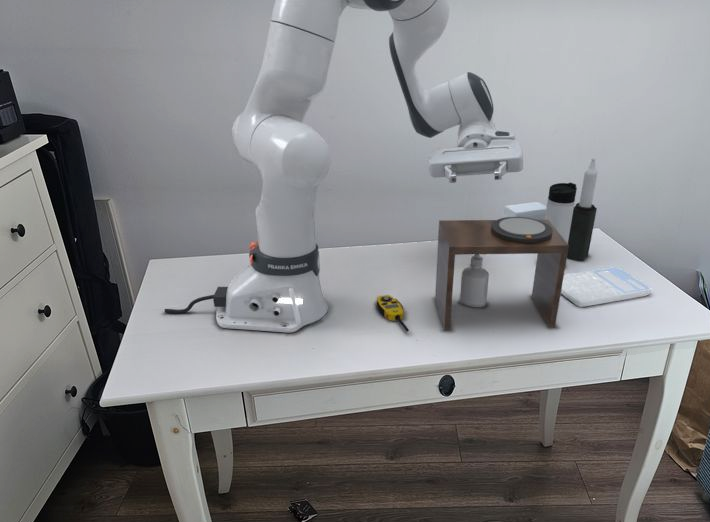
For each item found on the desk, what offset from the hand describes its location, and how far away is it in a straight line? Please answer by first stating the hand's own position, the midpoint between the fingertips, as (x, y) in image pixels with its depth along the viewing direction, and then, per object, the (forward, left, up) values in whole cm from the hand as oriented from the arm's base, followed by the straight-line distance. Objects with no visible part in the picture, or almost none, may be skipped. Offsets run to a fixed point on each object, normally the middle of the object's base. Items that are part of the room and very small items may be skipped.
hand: (475, 178), depth 128 cm
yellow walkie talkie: (-18, -14, -25) cm, 34 cm away
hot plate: (+7, -13, -7) cm, 16 cm away
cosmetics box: (+19, +24, -25) cm, 40 cm away
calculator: (+30, -3, -25) cm, 40 cm away
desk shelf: (+3, -13, -25) cm, 28 cm away
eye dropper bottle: (0, -8, -25) cm, 26 cm away
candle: (+31, +16, -25) cm, 43 cm away
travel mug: (+23, +11, -25) cm, 36 cm away
